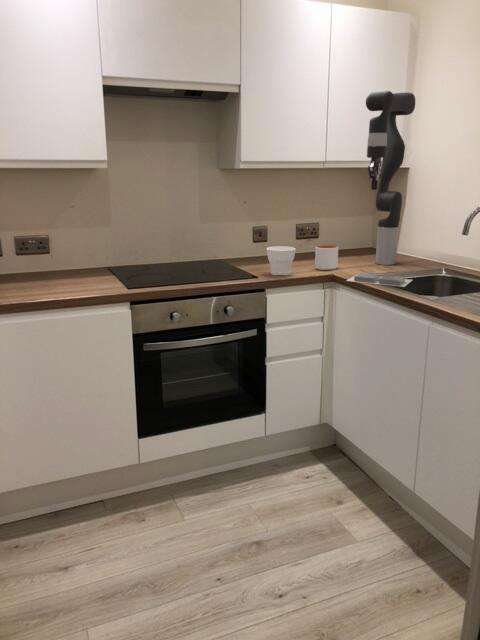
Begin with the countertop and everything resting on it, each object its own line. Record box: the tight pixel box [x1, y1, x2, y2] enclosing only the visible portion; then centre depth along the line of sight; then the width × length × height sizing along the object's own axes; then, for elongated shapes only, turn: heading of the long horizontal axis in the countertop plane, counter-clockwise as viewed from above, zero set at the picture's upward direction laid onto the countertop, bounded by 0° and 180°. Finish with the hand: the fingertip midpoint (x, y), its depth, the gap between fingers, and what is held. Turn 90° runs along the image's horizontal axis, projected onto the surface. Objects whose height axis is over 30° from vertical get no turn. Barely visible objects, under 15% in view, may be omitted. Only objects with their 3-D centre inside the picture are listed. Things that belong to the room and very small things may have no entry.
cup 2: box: [314, 244, 339, 271], centre depth 231 cm, size 10×10×10 cm
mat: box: [345, 274, 413, 288], centre depth 206 cm, size 14×23×1 cm, turn 59°
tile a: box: [354, 272, 381, 284], centre depth 206 cm, size 2×8×8 cm
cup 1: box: [266, 245, 296, 276], centre depth 221 cm, size 12×12×11 cm
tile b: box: [379, 274, 406, 286], centre depth 202 cm, size 2×8×8 cm
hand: (374, 189), depth 212 cm, fingers closed
